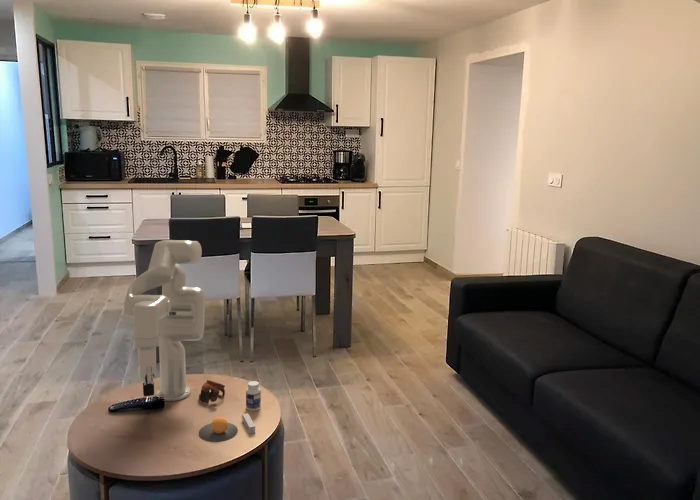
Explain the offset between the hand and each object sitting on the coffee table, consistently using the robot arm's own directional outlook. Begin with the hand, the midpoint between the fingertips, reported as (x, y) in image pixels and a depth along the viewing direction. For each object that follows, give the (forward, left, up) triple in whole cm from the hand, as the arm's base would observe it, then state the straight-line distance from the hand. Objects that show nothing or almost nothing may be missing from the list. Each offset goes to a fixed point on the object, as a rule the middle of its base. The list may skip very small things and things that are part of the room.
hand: (148, 394), depth 184 cm
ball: (0, +22, -14) cm, 26 cm away
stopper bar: (-1, +33, -17) cm, 37 cm away
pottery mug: (-26, +24, -18) cm, 39 cm away
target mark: (-1, +22, -17) cm, 28 cm away
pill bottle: (-15, +37, -17) cm, 44 cm away
